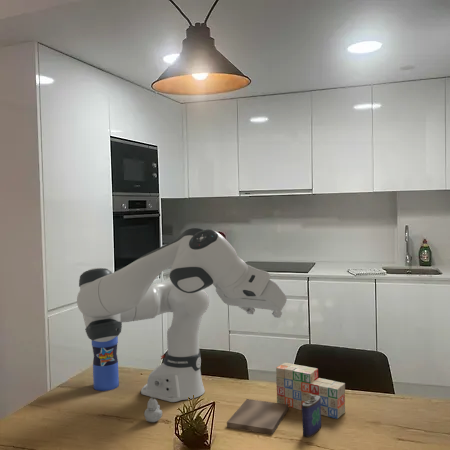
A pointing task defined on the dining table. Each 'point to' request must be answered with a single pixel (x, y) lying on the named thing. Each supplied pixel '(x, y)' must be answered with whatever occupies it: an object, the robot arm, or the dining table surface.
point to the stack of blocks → (309, 389)
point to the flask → (311, 416)
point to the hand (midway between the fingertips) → (265, 313)
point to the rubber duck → (153, 411)
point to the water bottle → (105, 365)
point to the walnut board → (258, 416)
